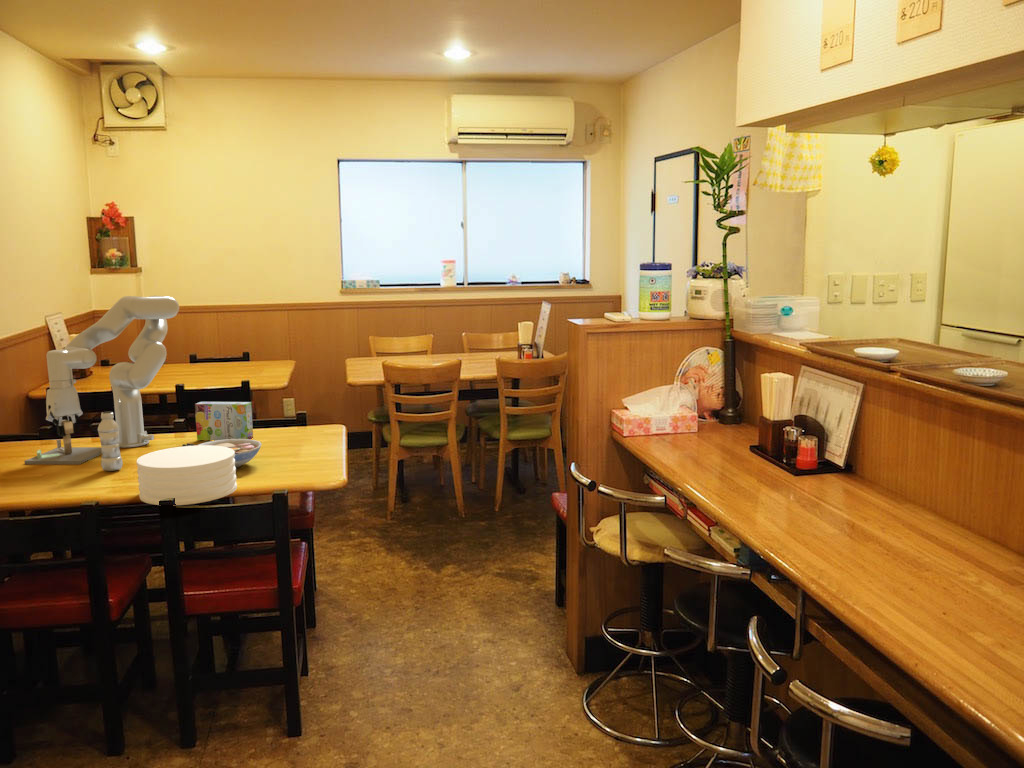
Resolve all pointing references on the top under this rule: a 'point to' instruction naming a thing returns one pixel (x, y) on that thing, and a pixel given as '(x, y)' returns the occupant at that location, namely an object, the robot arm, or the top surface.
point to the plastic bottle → (109, 443)
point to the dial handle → (66, 437)
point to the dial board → (65, 456)
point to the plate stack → (187, 474)
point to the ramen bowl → (237, 448)
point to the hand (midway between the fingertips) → (66, 434)
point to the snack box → (223, 420)
